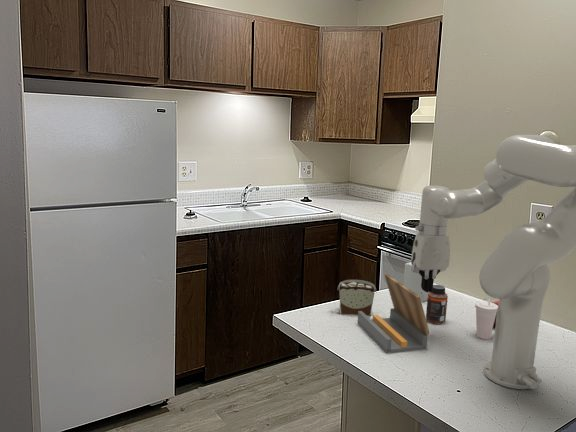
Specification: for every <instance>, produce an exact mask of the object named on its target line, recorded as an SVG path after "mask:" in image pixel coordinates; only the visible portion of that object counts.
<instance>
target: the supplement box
mask: <svg viewBox="0 0 576 432" xmlns="http://www.w3.org/2000/svg"><path fill="white" fill-rule="evenodd" d="M411 268H412V264H411V261H409V262H406V263H404V270H403V271H404V272H403V273H404V274H403V283H402V284H403V285H404V286H406V287H407V288H408V289H410V290H411V291H413V292H414V293H416V294H417V295H418V296H420V299H421V303H423V302H425V301H426V302H427V298H428V293H429V292H425V291H424V290H422V288H421V281H422V276H420V274H419V273H414V272H413V271H411Z"/></svg>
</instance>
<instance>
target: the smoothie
mask: <svg viewBox="0 0 576 432" xmlns="http://www.w3.org/2000/svg"><path fill="white" fill-rule="evenodd" d="M491 298H492V297H490V296H489V295H488V301H485V300H482V301H476V302H475V305H474V308H475V310H476V311H475V319H476V321H475V322H476V323H475V324H476V337H478V338H479V339H484V340H489V339H491V335H492V332H493V328H494V326H495V325H494V321H495V317H496V313H497V310H498V305H496V304H494V303H492V302H491V301H492V299H491Z"/></svg>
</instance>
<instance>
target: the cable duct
mask: <svg viewBox="0 0 576 432" xmlns="http://www.w3.org/2000/svg"><path fill="white" fill-rule="evenodd" d="M389 313H390V314H389V317H383V318H382V317H381V316H380V315H379V314H372V318H370V316H367V315H365V314H364V313H363V312H362V311H358V316H357V325H358V326H359V327H360V328H361V329H362V330H363V331H364V332H365V333H366V334H367V336H369V337H370V338H371V339H372V341H374V342H375V344H377V346H378V347H380V349H381V350H382V351H383V352H384V353H385V354H395V353H403V352H414V351H421V350H422V351H423V350H427V346H428V336H427V335H426V334H425V333H424V332H422V331H421V330H420V329H419V328H418V327H416V326H415V325H414V324H413V323H411V322H410V321H409V320H408V319H407V318H405V317H404V316H403V315H402V314H400V313H399V312H398V311H397V310H396V309H394V307H393V308H390V312H389Z"/></svg>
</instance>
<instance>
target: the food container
mask: <svg viewBox="0 0 576 432" xmlns="http://www.w3.org/2000/svg"><path fill="white" fill-rule="evenodd" d="M337 291H339V293H338V294H339V307H340V311H339V312H340V315H342V316H357V317H358V311H362V312H363V313H364V314H365V315H367V316H368V317H371V314H372V311H373V310H372V309H373V303H374V297H375V293H377V288H376V285H375V284H373V283H372V282H370V281H366V280H362V279H345V280H343V281H340V282H339V284H338V286H337Z"/></svg>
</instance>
